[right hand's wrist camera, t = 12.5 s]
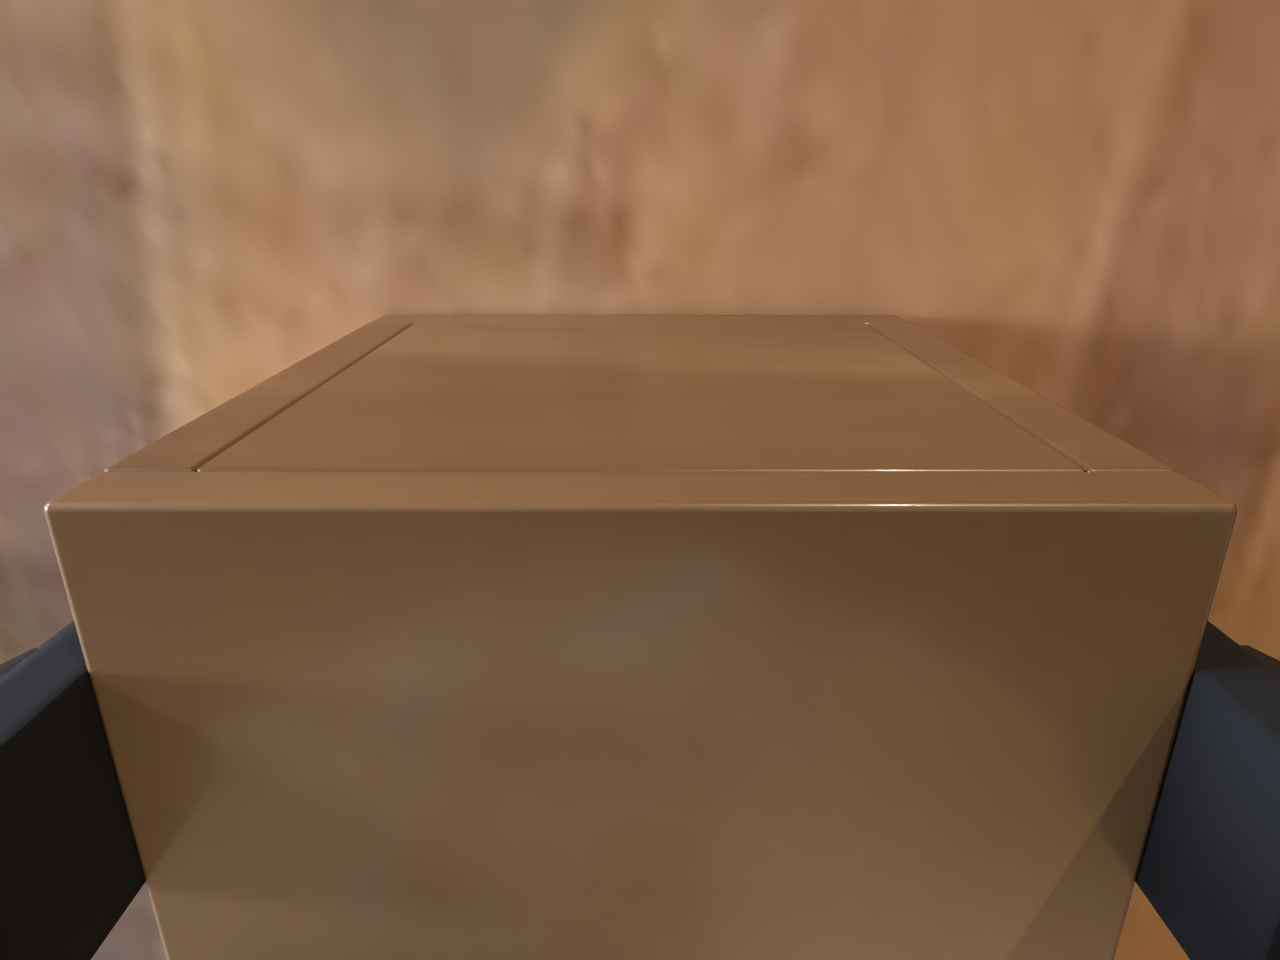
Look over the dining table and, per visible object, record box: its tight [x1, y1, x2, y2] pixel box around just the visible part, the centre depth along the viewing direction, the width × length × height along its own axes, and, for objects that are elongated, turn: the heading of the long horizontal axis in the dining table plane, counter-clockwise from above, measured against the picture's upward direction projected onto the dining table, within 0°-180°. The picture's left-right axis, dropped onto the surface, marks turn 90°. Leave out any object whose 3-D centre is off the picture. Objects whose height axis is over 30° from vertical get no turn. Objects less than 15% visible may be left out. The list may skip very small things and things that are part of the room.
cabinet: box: [44, 315, 1237, 960], centre depth 16 cm, size 20×11×10 cm, turn 0°
